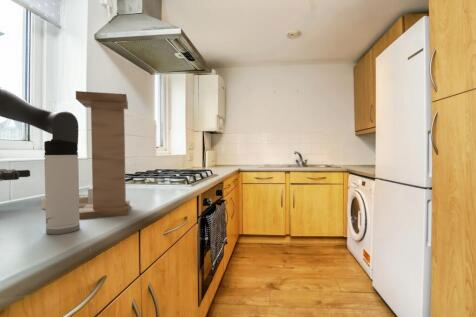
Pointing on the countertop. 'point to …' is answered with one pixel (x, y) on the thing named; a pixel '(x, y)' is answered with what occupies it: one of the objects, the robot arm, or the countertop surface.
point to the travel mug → (61, 186)
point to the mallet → (82, 199)
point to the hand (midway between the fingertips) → (24, 174)
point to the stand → (106, 154)
